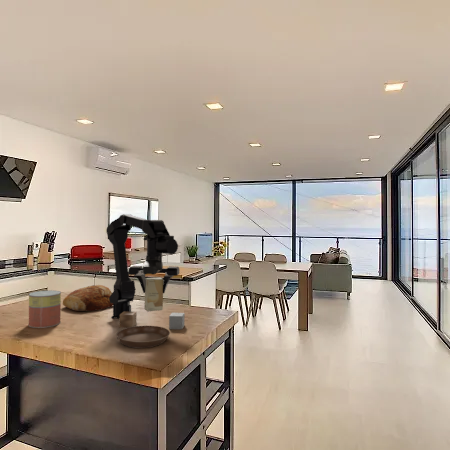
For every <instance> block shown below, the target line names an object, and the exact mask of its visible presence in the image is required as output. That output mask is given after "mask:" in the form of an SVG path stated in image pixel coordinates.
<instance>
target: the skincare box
mask: <svg viewBox="0 0 450 450" xmlns="http://www.w3.org/2000/svg"><path fill="white" fill-rule="evenodd" d="M163 284H164V278H162V277H145V293H144V311H146V312H147V313H148V312H159V311H160V312H161V311H163V310H164V309H163V307H164V306H163V305H164V304H163V303H164V293H163Z"/></svg>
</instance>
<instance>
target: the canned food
mask: <svg viewBox="0 0 450 450" xmlns="http://www.w3.org/2000/svg"><path fill="white" fill-rule="evenodd" d="M61 293H62V292H61V291H60V290H53V289H51V290H40V291H39V290H38V291H33V292H30V293H28V325H27V326H28V327H29V328H32V329H42V328H52V327H54V326H55V327H56V326H58V325H60V324H61V312H62V311H61V305H62V304H61V303H62V301H61V296H62V295H61Z"/></svg>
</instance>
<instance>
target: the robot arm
mask: <svg viewBox="0 0 450 450" xmlns="http://www.w3.org/2000/svg"><path fill="white" fill-rule="evenodd" d="M132 227H134V228H137V229H139V230H141V232H143V233H144V234H146V235H145V236H144V238H143V241H146V257H145V261H144V262H143V264H142V265H132V266H129V267H128V256H127V251H126V243H127V242H126V241H127V239H128V237H129V232H130V231H131V230H132ZM106 235H107V240H109V243H111V245H112V249H113V251H112V252H113V258H114V267H115V275H116V276H115V277H116V280H115V281H114V282H115V283H114V284H113V292H112V294H111V296H110V297H109V300H110V303H113V306H112V316H111V319H120V314H121V313H123V312H124V311H125V312H132V305H131V302H134V299H135V295H136V285H135V280H132V279H131V278H130V277H129V275H132V276H133V277H134V278H136V279H137V280H138V282H139V283H140V286H141V289H142V292H143V294H145V278H146V275H156V274H165V275H164V276H163V279H164V280H163V294H165V292H166V290H167V288H168V285H169V282H170V280H171V279H172V278H173V277H174V276H175V277H176V276H178V275H179V274H180V272H181V271H180V267H179V266H173V265H172V266H168V267H165V268H164V264H163V254H167V255H174V254H176V252H177V251H178V249H179V244H178V241H177V240H176V239H175V236H174V235H170V232H169V231H168V228H167V227H166V224H165V222H164V220H163V219H146V218H143V217H139V216H136V215H132V214H130V213H129V214H127V213H126V214H125V213H124V214H120V216H119V217H117V218H116V219H115V220H112V221H111V222H110V223H109V225H107V227H106Z"/></svg>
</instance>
